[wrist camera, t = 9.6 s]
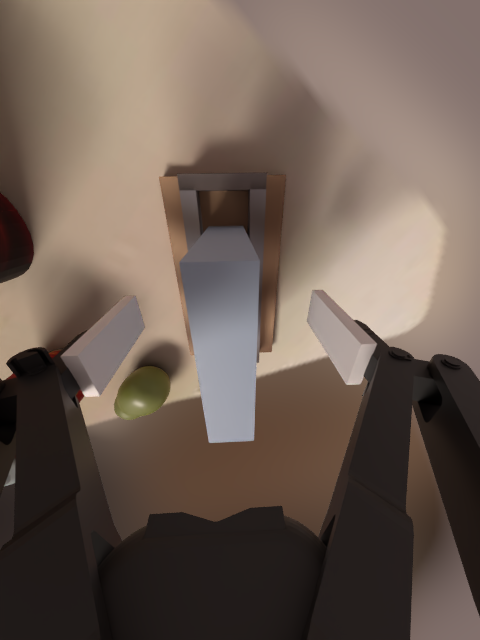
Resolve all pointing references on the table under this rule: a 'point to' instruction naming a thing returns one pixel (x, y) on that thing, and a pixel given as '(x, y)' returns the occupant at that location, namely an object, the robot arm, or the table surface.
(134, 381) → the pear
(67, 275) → the table surface
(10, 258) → the mug
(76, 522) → the robot arm
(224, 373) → the door panel
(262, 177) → the track base
